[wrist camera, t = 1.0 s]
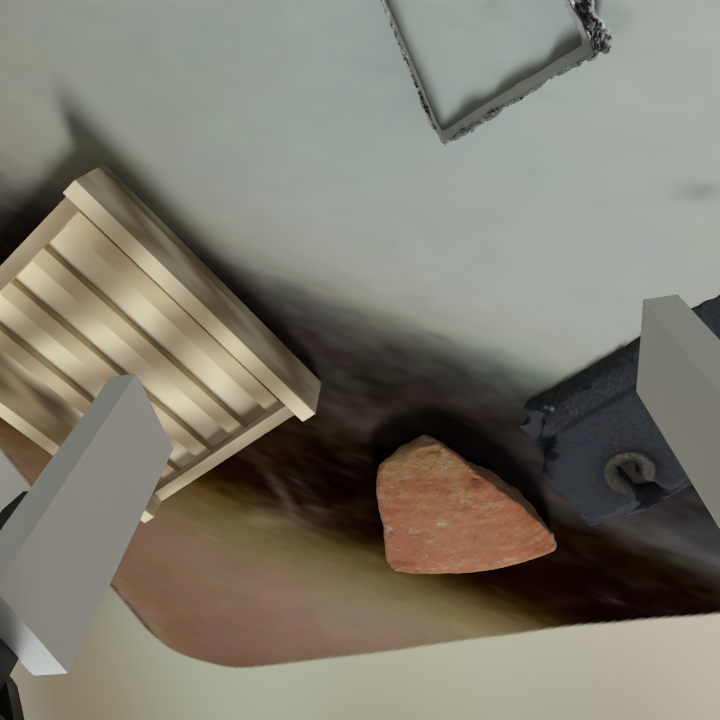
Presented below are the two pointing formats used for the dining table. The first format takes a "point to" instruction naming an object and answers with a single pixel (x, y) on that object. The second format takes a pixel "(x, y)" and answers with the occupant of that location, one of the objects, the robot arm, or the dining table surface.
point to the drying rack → (137, 335)
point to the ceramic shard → (453, 513)
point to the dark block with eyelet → (607, 436)
